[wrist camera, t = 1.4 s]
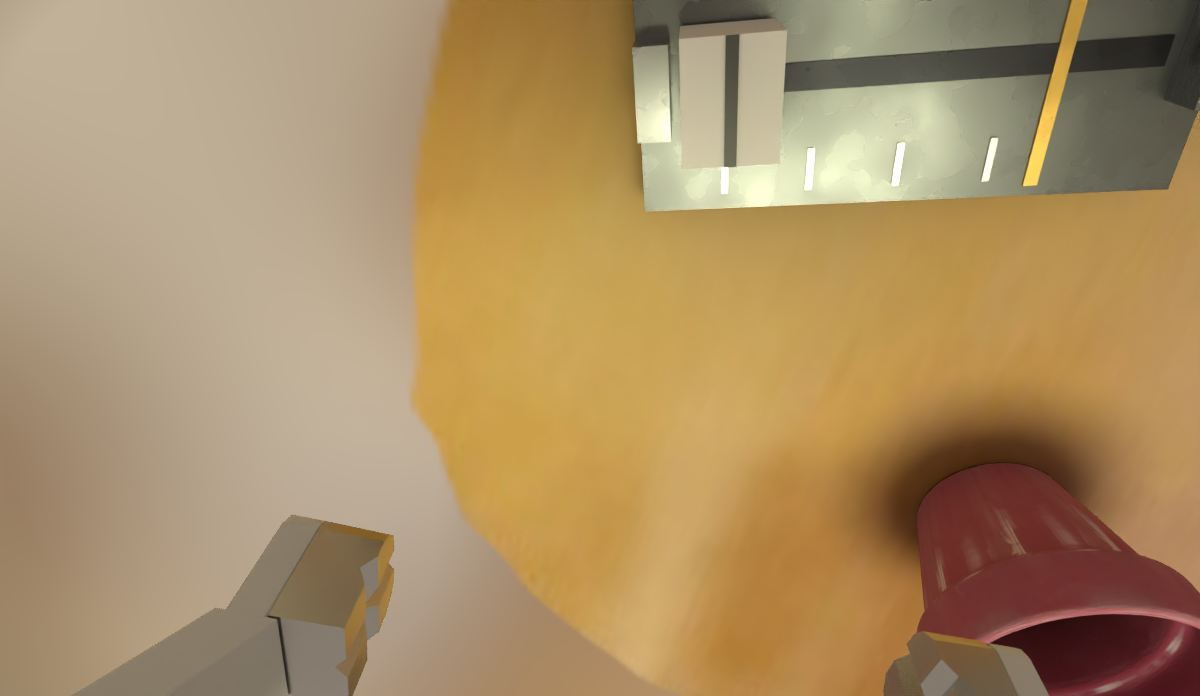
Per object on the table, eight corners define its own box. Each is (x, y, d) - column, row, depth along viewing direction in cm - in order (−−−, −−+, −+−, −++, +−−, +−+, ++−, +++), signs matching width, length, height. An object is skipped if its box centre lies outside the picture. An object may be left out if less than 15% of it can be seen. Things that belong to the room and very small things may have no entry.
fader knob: (775, 18, 27) (787, 30, 24) (769, 137, 30) (779, 164, 27) (680, 26, 28) (678, 39, 25) (682, 143, 31) (681, 169, 27)
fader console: (1253, -132, 25) (1340, -141, 22) (1142, 175, 31) (1196, 204, 28) (633, -66, 28) (625, -65, 25) (646, 198, 35) (642, 226, 31)
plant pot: (1116, 410, 39) (1279, 595, 28) (1103, 564, 45) (1231, 760, 35) (864, 451, 42) (923, 627, 32) (888, 588, 49) (942, 770, 38)
